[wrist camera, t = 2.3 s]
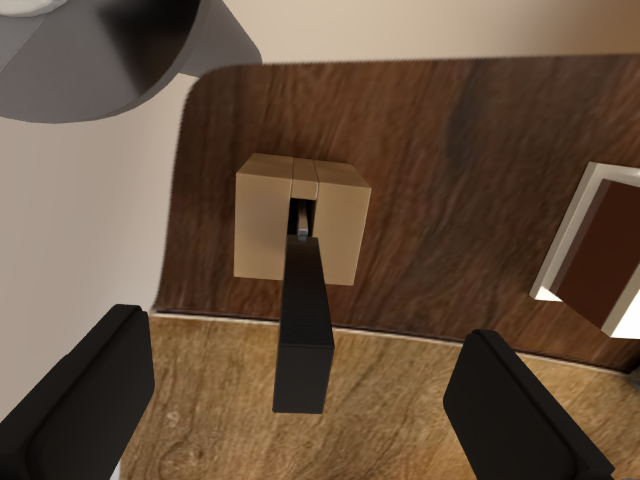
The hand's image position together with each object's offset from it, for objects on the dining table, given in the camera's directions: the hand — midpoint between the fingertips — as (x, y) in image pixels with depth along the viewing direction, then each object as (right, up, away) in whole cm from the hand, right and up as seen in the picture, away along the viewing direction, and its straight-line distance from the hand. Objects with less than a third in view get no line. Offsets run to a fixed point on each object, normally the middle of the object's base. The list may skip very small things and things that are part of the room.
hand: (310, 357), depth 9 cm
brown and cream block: (+26, +3, +18) cm, 32 cm away
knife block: (-1, +7, +14) cm, 16 cm away
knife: (-1, +7, +14) cm, 16 cm away
